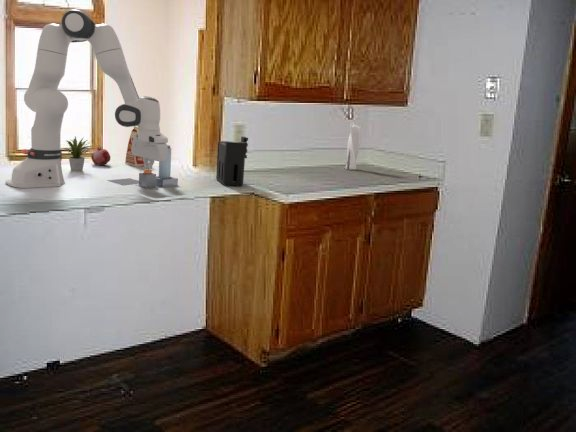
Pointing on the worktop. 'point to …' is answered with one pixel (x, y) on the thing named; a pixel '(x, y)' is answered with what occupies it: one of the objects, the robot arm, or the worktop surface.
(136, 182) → the mat
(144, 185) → the filter head
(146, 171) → the plunger
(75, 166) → the house plant
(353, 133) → the skyscraper
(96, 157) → the fruit
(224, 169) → the black machined bracket
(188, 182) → the worktop surface
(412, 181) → the worktop surface
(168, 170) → the block
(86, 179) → the worktop surface
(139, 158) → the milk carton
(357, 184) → the worktop surface
